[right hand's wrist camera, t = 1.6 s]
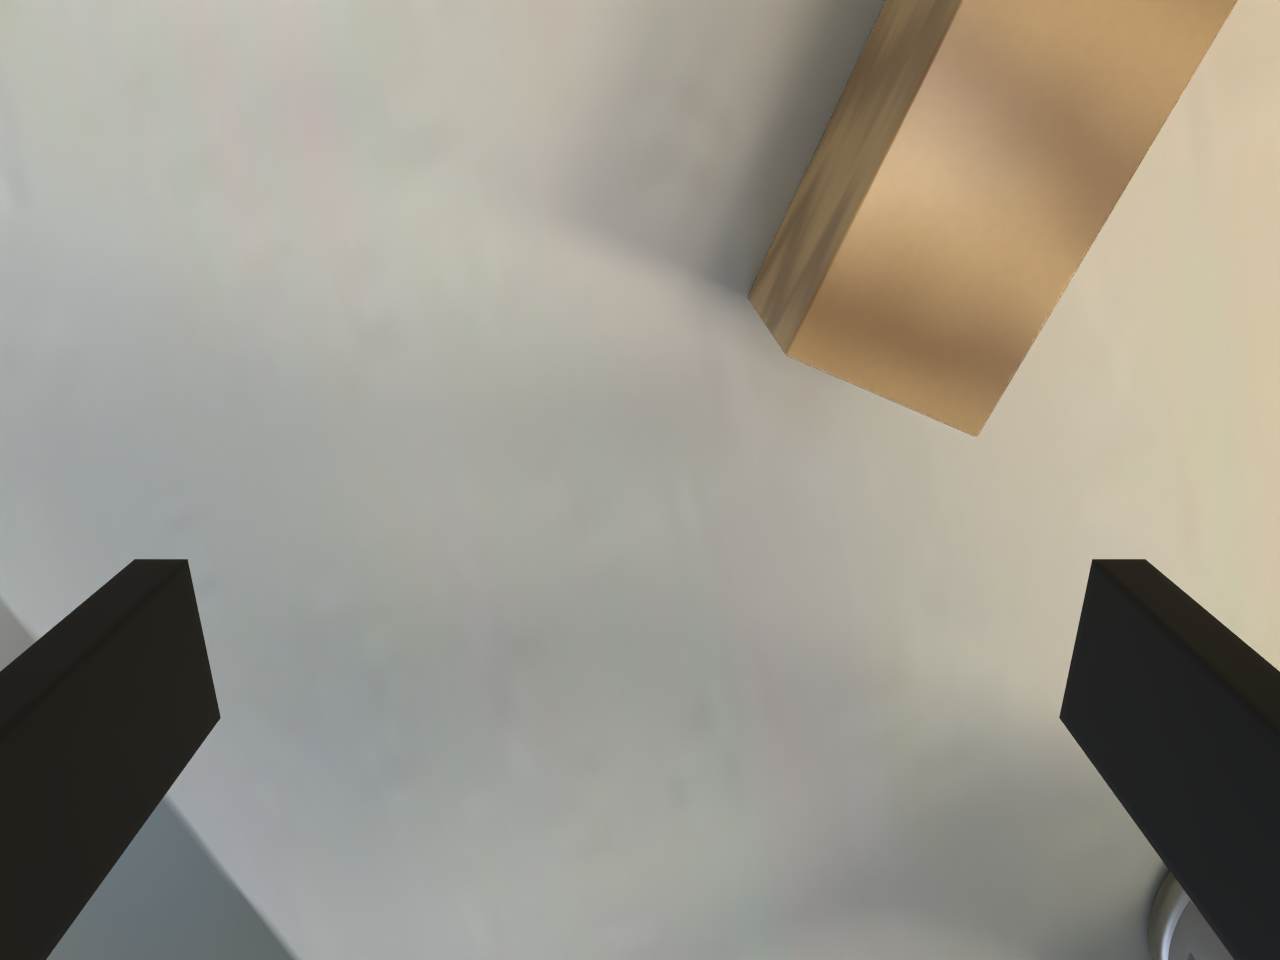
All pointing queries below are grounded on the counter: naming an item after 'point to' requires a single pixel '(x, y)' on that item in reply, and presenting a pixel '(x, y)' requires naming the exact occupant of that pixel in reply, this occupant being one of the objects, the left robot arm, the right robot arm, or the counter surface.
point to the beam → (969, 187)
